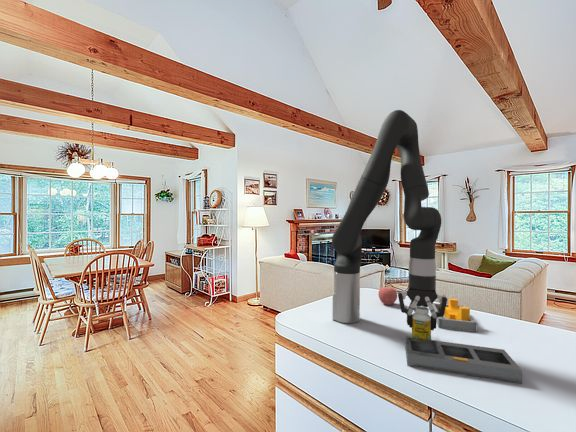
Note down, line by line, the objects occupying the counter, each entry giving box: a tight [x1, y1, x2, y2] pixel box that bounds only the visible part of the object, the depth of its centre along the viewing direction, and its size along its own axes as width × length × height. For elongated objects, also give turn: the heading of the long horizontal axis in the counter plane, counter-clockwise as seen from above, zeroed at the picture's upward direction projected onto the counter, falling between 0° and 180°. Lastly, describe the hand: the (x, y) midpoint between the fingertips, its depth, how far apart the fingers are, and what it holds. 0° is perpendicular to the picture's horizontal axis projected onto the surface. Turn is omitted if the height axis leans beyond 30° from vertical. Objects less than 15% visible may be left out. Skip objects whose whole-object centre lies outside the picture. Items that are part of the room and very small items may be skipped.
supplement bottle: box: [411, 306, 432, 340], centre depth 89 cm, size 5×5×10 cm
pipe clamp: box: [443, 298, 471, 321], centre depth 106 cm, size 12×4×6 cm, turn 170°
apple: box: [378, 285, 398, 306], centre depth 125 cm, size 7×7×8 cm
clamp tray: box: [432, 302, 477, 333], centre depth 106 cm, size 11×19×3 cm, turn 161°
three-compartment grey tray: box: [404, 336, 523, 385], centre depth 75 cm, size 24×11×3 cm, turn 71°
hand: (421, 327), depth 89 cm, fingers closed on supplement bottle, 5 cm apart
